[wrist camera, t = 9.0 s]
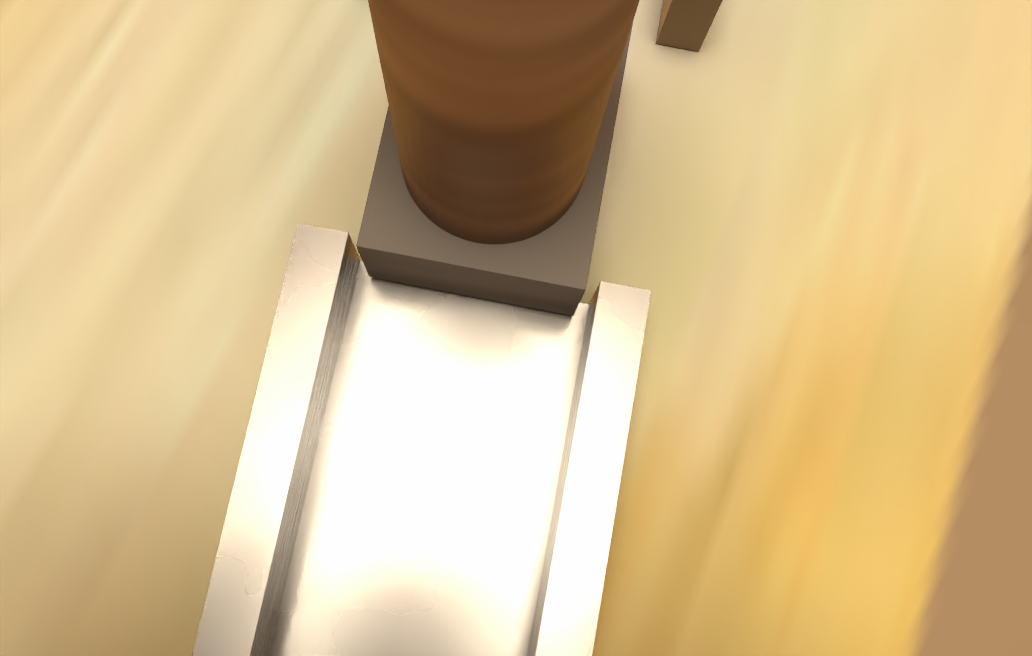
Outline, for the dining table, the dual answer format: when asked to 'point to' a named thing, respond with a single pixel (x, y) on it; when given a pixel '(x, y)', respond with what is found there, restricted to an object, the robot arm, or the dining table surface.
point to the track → (424, 470)
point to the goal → (686, 22)
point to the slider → (494, 145)
